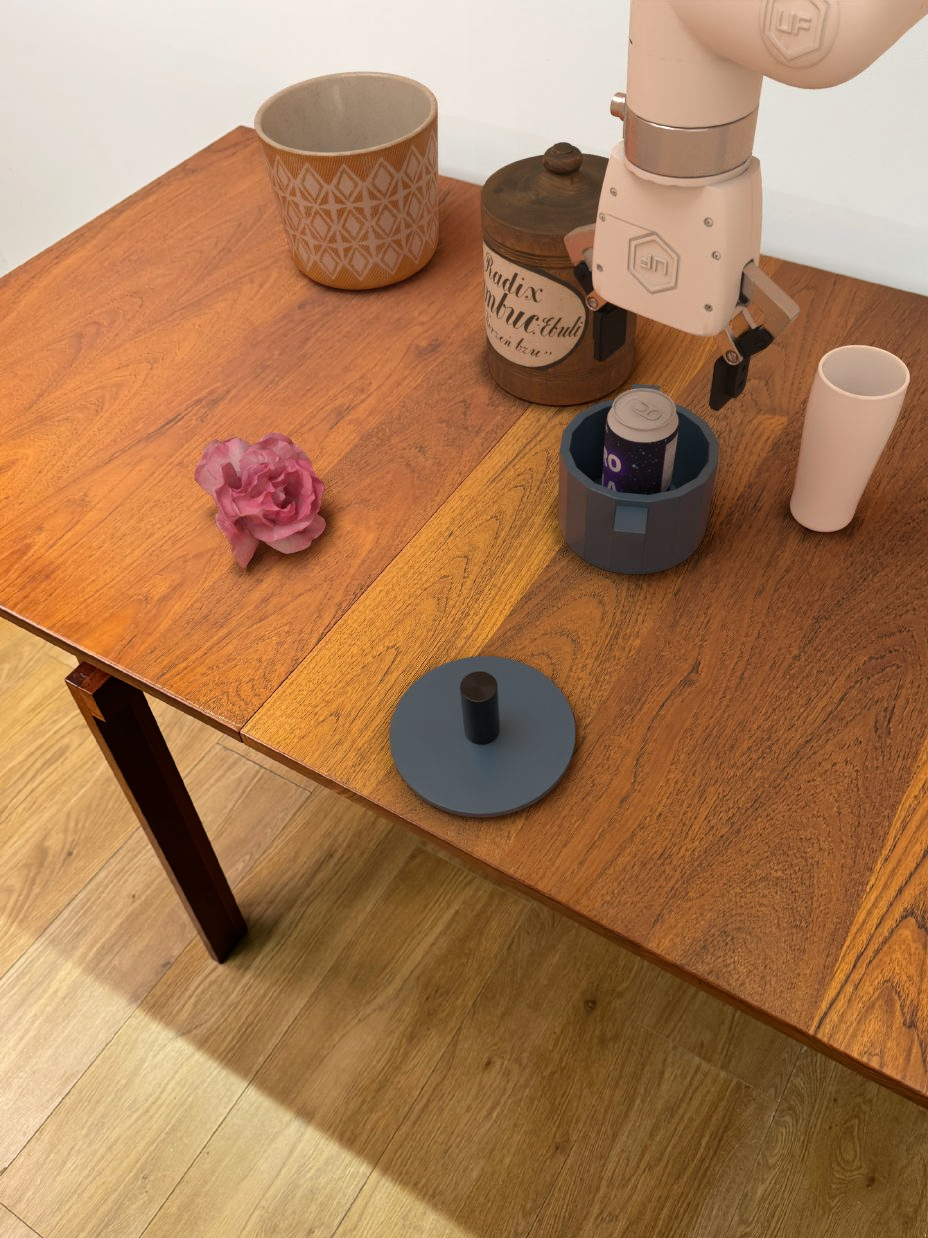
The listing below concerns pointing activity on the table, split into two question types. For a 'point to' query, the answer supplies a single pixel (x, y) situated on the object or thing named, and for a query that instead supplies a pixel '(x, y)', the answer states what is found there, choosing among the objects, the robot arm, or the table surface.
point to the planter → (354, 175)
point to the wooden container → (544, 280)
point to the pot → (634, 498)
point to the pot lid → (482, 736)
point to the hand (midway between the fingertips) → (665, 375)
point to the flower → (262, 494)
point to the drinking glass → (845, 432)
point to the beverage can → (640, 442)
